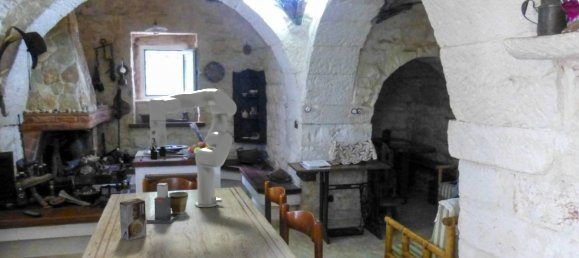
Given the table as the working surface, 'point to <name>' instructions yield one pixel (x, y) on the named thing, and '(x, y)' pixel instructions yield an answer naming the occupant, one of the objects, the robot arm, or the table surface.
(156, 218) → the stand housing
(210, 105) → the robot arm
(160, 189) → the steel post
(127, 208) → the coffee box
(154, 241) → the table surface
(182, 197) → the ceramic cup
